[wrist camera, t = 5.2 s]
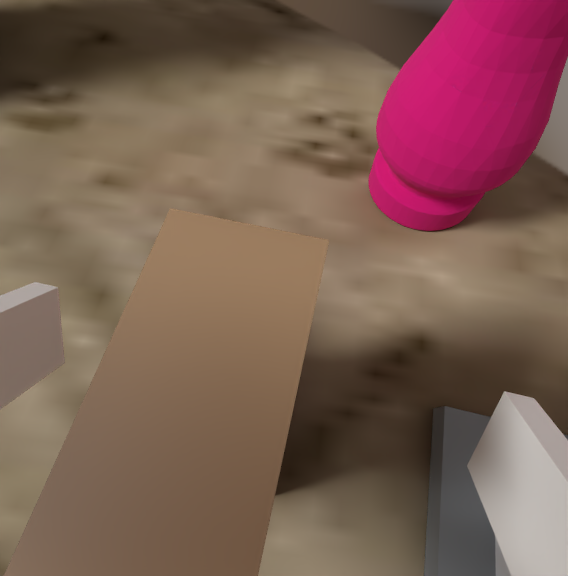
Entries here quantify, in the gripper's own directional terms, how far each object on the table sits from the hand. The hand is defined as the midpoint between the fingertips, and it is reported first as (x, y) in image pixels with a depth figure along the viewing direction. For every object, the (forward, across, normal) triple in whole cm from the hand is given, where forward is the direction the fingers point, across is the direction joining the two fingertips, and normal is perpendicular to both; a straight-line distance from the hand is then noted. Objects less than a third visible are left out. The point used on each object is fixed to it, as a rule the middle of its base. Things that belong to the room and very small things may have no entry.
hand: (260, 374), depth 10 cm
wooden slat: (+3, 0, -5) cm, 6 cm away
